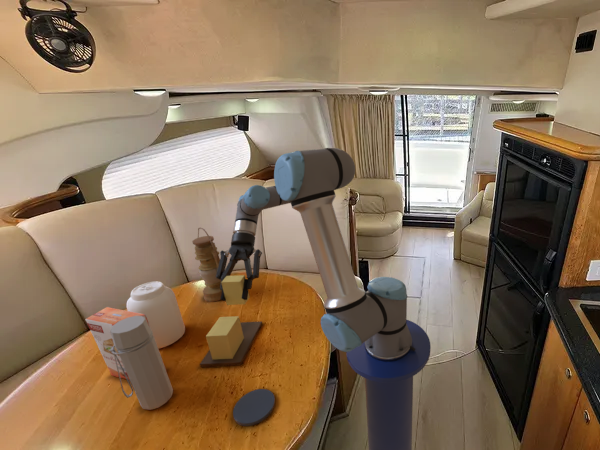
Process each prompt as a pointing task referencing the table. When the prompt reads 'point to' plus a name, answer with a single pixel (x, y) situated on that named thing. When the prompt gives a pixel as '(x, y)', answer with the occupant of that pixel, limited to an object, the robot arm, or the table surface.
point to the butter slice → (234, 289)
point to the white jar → (158, 311)
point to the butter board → (249, 335)
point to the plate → (254, 407)
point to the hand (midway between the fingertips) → (234, 299)
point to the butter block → (225, 337)
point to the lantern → (208, 266)
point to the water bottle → (141, 362)
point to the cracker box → (109, 335)
